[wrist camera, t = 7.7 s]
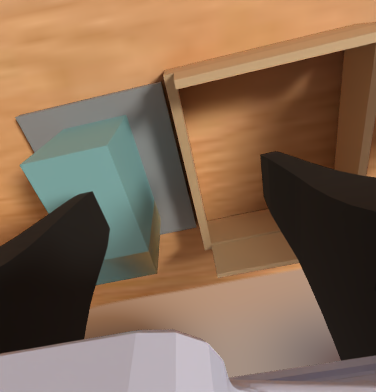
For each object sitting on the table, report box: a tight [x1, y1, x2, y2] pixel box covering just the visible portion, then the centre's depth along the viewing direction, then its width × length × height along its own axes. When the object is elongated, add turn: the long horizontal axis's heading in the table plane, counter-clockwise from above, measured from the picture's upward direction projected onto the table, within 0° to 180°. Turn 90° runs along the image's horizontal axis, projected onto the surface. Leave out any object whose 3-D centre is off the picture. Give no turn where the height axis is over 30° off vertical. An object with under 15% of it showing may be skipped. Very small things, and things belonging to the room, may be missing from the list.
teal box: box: [20, 115, 161, 285], centre depth 18 cm, size 4×9×6 cm, turn 12°
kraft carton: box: [163, 22, 376, 278], centre depth 17 cm, size 12×13×6 cm
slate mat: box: [15, 82, 196, 235], centre depth 20 cm, size 10×12×1 cm
